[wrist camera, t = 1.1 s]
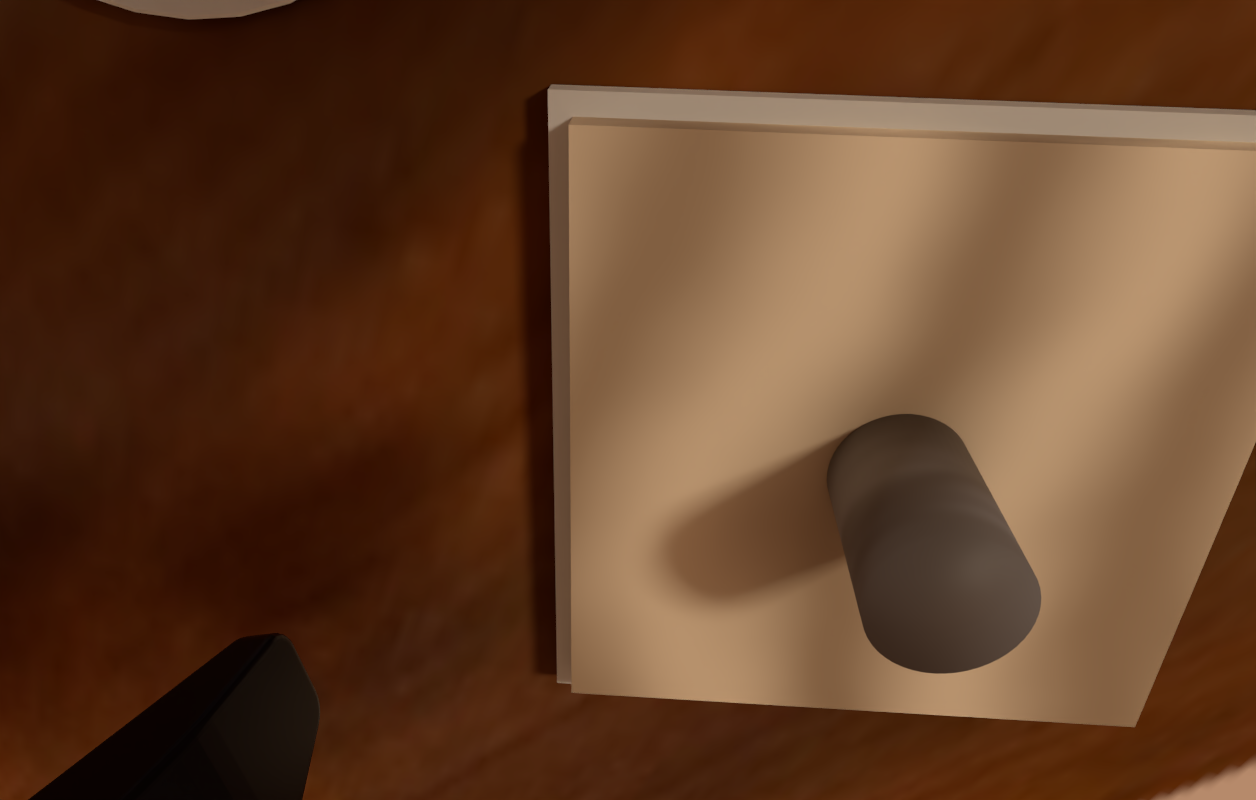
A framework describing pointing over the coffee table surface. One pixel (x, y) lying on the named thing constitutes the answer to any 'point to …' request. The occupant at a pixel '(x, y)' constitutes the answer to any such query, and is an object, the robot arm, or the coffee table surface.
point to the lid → (900, 411)
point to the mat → (811, 113)
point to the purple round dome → (198, 7)
